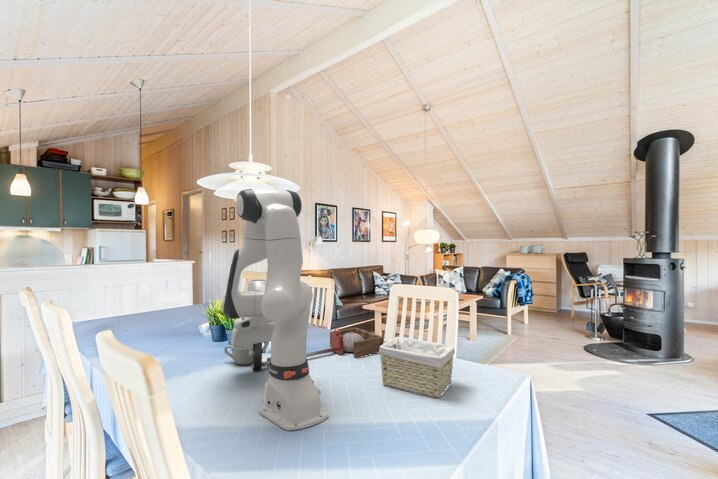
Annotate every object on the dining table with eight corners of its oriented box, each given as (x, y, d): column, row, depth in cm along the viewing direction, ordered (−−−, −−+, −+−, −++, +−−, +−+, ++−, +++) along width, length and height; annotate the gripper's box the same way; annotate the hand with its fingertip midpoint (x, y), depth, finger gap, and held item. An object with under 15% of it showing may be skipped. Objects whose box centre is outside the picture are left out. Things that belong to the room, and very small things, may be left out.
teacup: (261, 358, 155) (262, 340, 155) (252, 367, 144) (252, 348, 144) (231, 357, 156) (231, 339, 156) (219, 366, 146) (219, 347, 146)
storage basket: (456, 385, 128) (456, 345, 128) (441, 402, 114) (442, 357, 114) (396, 372, 140) (397, 335, 140) (377, 386, 127) (377, 345, 127)
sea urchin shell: (334, 352, 164) (334, 335, 164) (342, 344, 177) (342, 328, 177) (362, 355, 161) (362, 337, 161) (368, 346, 174) (368, 330, 174)
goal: (383, 351, 165) (383, 337, 165) (355, 358, 156) (355, 342, 156) (356, 340, 183) (356, 327, 183) (329, 346, 174) (330, 332, 174)
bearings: (305, 362, 150) (305, 355, 150) (272, 370, 142) (272, 362, 142) (299, 358, 155) (299, 351, 155) (266, 365, 147) (266, 357, 147)
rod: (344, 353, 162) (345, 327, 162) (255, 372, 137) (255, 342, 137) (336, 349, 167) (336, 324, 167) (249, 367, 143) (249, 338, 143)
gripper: (278, 315, 150) (278, 347, 150) (229, 321, 138) (229, 356, 138) (284, 317, 145) (284, 351, 145) (234, 324, 133) (234, 361, 133)
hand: (257, 354), depth 141 cm, fingers closed on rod, 4 cm apart
